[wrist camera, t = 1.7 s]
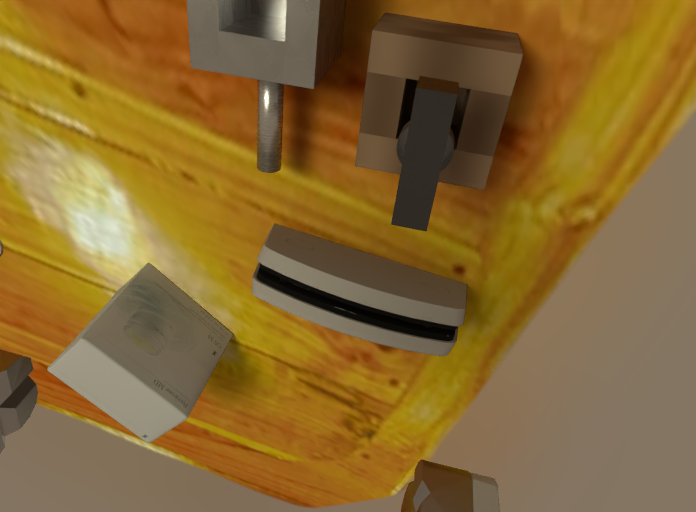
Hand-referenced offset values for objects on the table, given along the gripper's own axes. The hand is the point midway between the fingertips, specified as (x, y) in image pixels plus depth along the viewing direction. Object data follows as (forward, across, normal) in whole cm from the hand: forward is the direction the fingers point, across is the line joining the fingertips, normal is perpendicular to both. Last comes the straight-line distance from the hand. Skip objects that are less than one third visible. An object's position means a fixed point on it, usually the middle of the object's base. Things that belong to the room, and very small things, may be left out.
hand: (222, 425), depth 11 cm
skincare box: (+30, +14, +26) cm, 43 cm away
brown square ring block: (+28, -4, 0) cm, 29 cm away
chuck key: (+28, -4, 0) cm, 28 cm away
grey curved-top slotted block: (+30, -2, +15) cm, 33 cm away
